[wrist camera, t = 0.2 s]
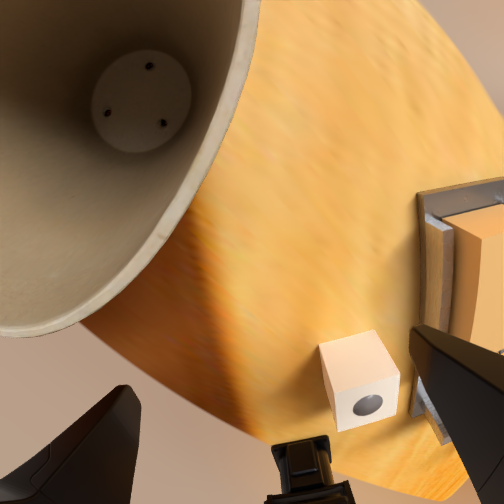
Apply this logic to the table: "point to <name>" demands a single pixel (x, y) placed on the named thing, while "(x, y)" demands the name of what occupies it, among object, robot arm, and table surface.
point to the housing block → (359, 379)
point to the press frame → (443, 267)
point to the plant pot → (105, 141)
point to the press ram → (478, 277)
